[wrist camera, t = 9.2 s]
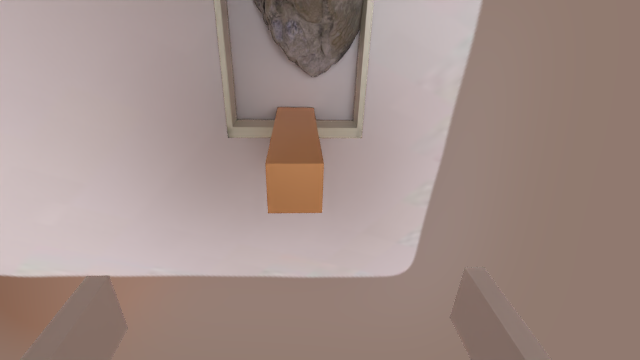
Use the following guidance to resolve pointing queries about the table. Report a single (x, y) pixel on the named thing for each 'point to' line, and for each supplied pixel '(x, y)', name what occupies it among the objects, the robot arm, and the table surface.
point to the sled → (293, 128)
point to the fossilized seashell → (313, 29)
